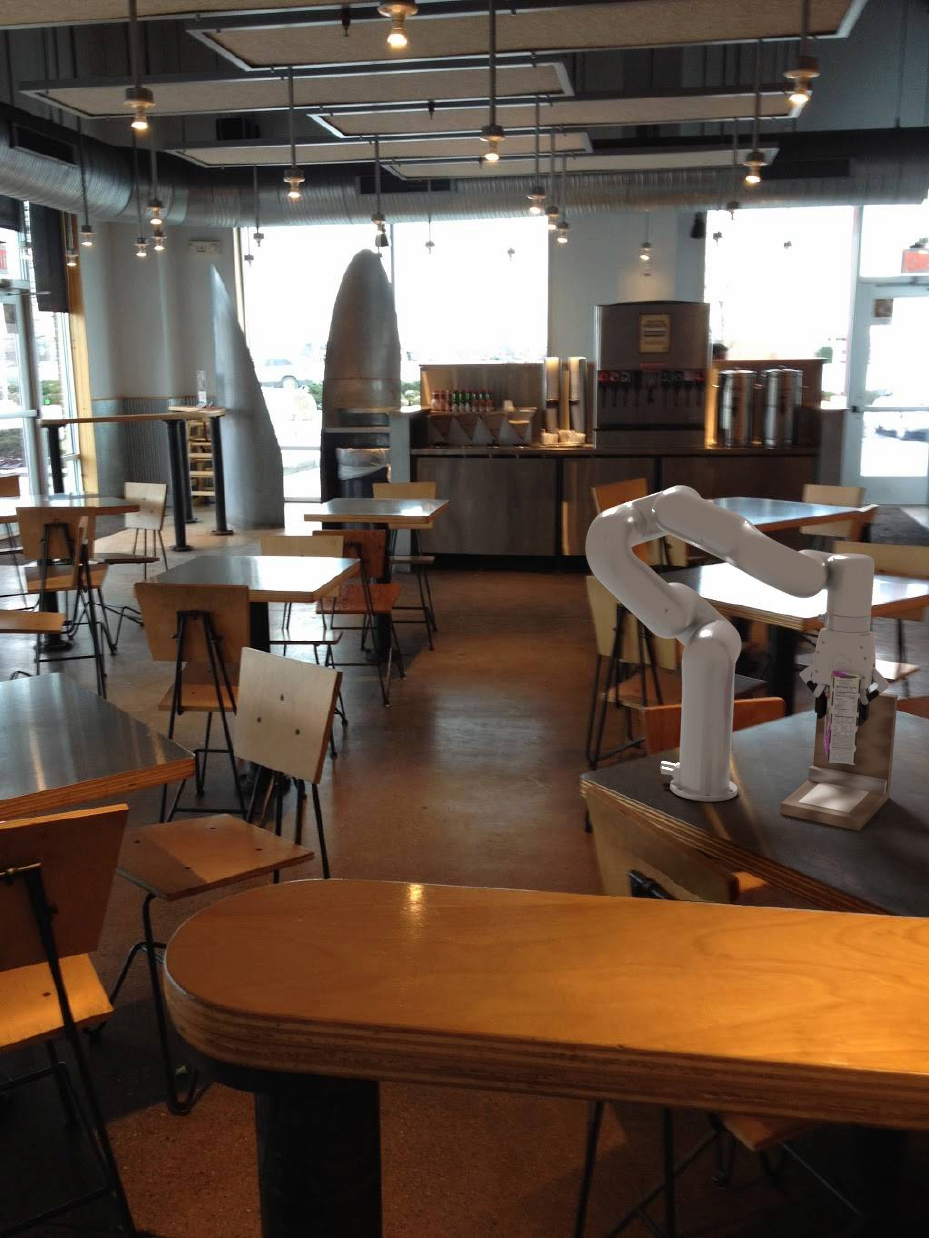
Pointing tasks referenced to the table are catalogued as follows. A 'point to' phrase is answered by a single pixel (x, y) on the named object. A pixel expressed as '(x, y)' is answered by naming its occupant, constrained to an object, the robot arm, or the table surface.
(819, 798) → the display stand
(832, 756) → the candy bar box
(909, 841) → the table surface
